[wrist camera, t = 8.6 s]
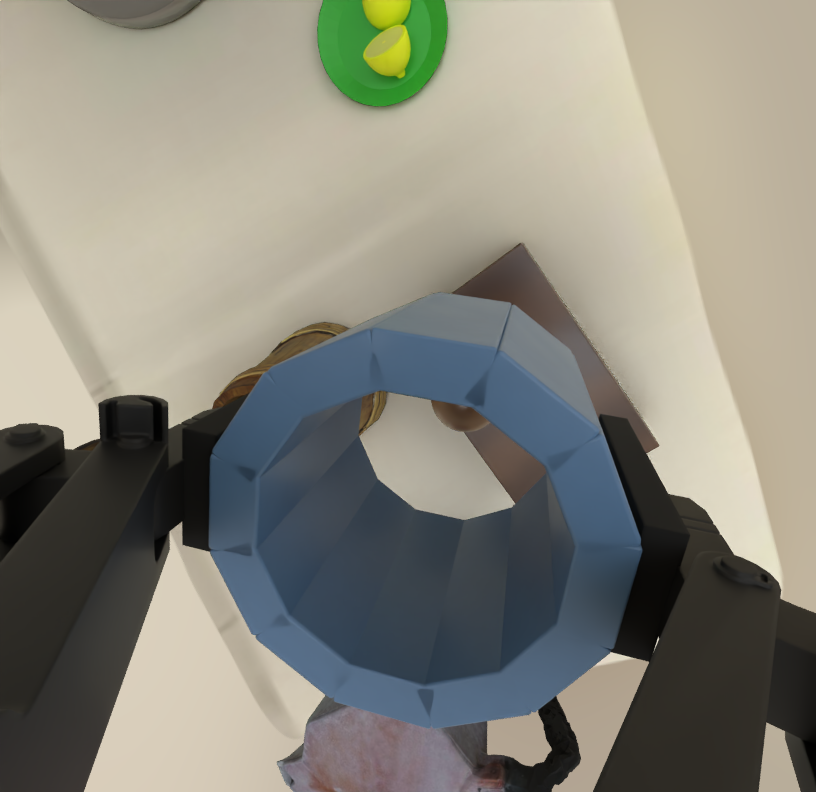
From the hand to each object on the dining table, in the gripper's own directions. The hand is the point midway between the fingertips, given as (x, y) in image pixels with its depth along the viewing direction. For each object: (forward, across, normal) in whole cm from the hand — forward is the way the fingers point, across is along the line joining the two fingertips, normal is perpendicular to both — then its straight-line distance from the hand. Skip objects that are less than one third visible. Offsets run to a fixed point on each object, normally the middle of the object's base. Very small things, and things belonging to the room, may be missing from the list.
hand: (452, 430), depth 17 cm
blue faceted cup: (0, 0, 0) cm, 0 cm away
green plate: (+21, -10, +16) cm, 28 cm away
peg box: (+21, +2, -2) cm, 21 cm away
